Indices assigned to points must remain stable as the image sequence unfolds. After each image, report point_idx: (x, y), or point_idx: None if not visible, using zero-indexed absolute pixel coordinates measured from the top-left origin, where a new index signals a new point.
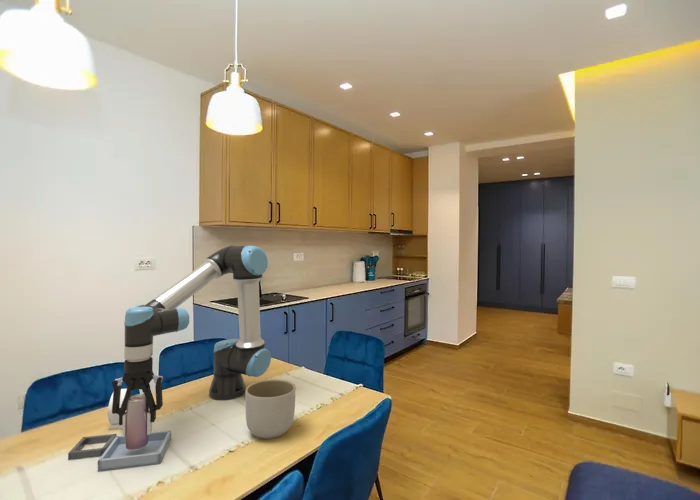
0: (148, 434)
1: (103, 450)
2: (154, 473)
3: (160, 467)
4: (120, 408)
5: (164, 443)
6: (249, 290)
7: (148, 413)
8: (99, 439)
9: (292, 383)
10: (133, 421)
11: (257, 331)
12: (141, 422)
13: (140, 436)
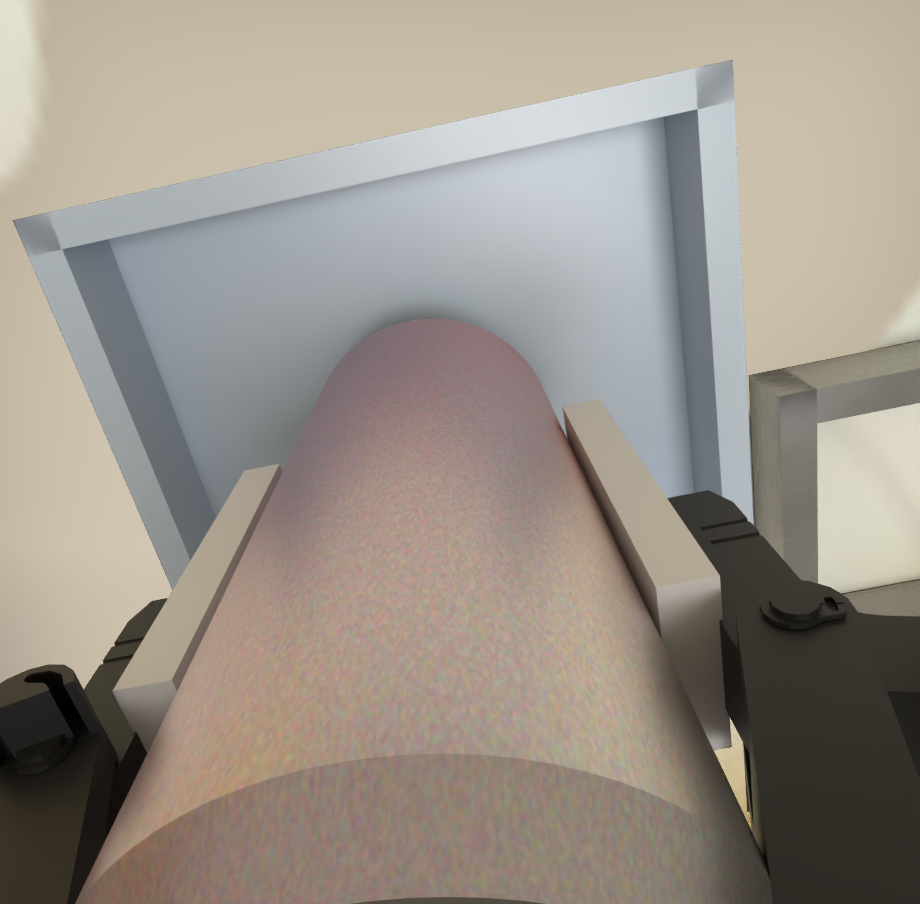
0: (259, 468)
1: (785, 391)
2: (13, 12)
3: (26, 140)
4: (886, 708)
5: (119, 452)
6: None
7: (148, 683)
8: (913, 604)
9: None
10: (407, 461)
11: None
12: (278, 500)
13: (327, 396)
